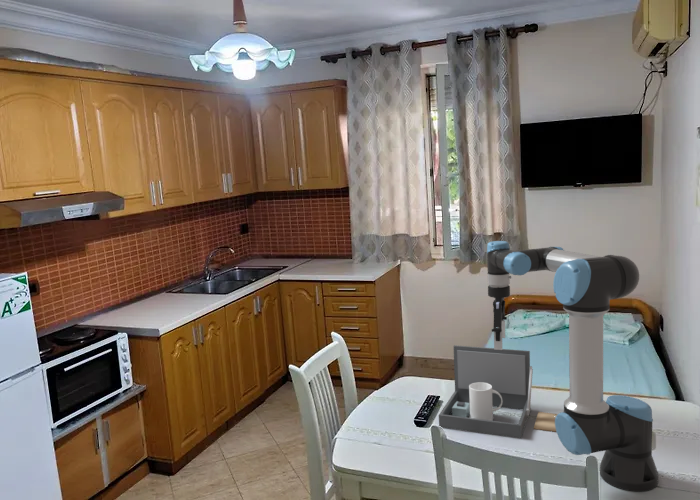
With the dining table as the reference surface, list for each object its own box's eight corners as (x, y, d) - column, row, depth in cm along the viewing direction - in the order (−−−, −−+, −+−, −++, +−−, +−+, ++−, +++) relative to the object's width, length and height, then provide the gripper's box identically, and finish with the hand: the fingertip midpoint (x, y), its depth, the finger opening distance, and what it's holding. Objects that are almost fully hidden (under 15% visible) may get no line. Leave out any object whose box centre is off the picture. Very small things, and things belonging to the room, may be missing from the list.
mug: (503, 414, 212) (503, 383, 210) (501, 424, 204) (500, 392, 202) (471, 412, 216) (470, 381, 214) (467, 421, 208) (466, 389, 206)
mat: (577, 434, 194) (577, 433, 193) (533, 429, 199) (533, 428, 199) (579, 417, 206) (579, 416, 206) (538, 412, 212) (538, 411, 212)
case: (524, 438, 193) (523, 373, 190) (439, 427, 205) (436, 365, 202) (533, 410, 215) (532, 351, 211) (456, 401, 227) (454, 345, 223)
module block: (466, 419, 210) (465, 407, 209) (452, 418, 212) (452, 405, 212) (470, 413, 215) (469, 400, 215) (456, 411, 218) (456, 399, 217)
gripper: (507, 293, 191) (508, 355, 195) (512, 278, 215) (512, 333, 218) (484, 292, 194) (485, 354, 197) (491, 277, 217) (492, 332, 220)
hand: (499, 343), depth 207 cm, fingers open, 13 cm apart
